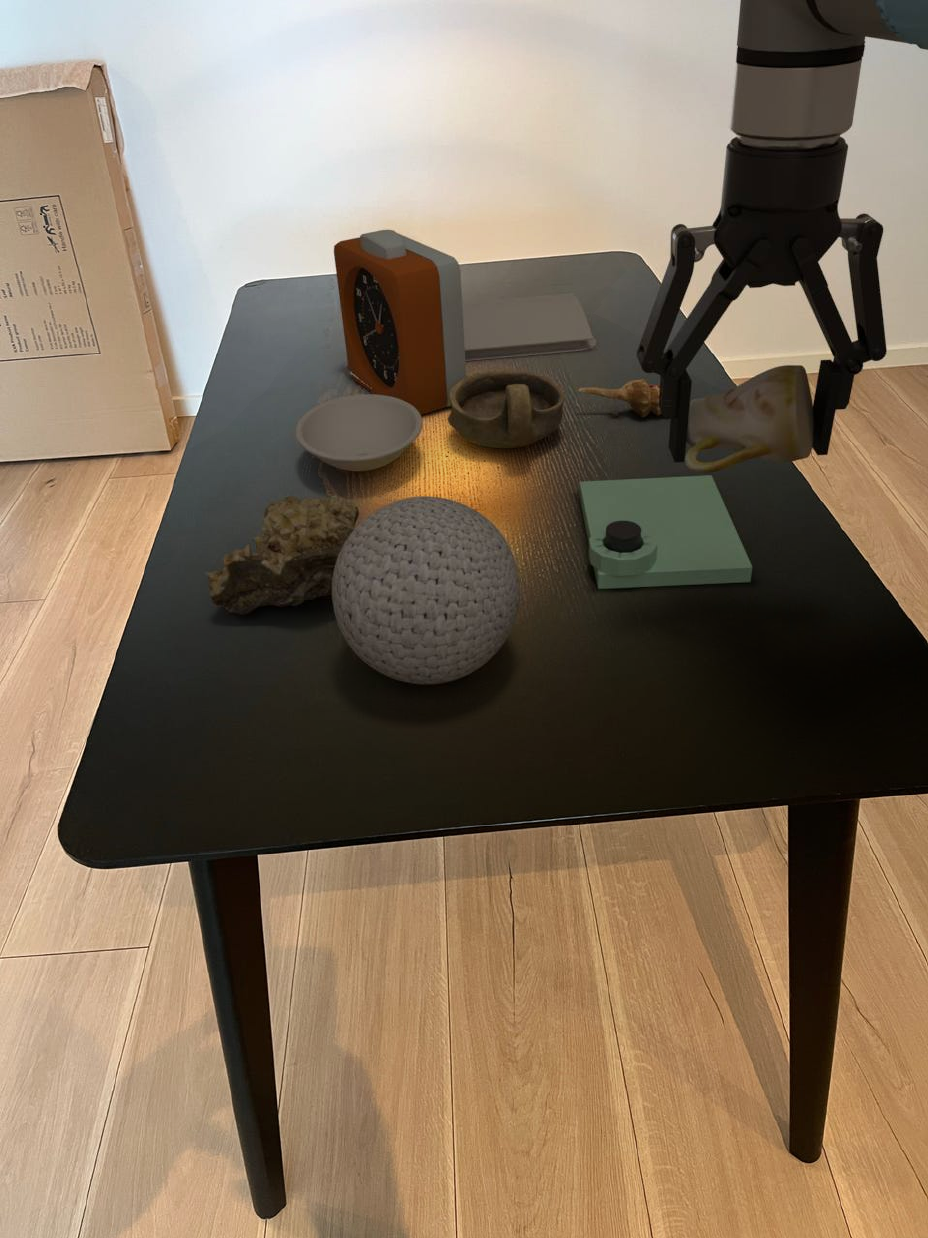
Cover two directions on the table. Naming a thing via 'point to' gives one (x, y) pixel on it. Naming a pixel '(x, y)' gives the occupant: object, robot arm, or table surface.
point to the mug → (754, 420)
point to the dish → (359, 430)
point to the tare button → (623, 536)
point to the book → (525, 327)
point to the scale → (663, 533)
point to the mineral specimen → (286, 556)
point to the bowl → (505, 408)
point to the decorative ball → (425, 590)
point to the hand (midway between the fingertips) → (746, 450)
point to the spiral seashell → (633, 396)
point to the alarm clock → (401, 317)
